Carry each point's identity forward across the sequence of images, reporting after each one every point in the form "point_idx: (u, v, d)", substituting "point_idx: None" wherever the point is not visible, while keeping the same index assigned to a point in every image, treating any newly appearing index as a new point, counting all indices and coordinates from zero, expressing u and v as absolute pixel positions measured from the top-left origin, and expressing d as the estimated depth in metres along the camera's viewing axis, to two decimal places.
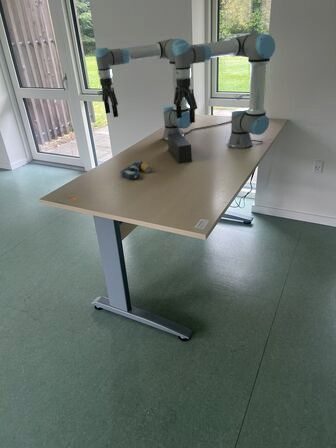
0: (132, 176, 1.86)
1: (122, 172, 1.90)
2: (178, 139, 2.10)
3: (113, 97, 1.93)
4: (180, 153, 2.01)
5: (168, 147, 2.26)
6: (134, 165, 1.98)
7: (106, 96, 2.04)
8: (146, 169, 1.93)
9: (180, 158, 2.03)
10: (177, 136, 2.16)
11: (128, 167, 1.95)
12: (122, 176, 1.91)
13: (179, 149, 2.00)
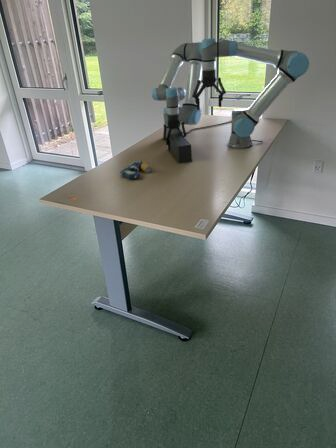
0: (132, 176, 1.86)
1: (122, 172, 1.90)
2: (178, 139, 2.10)
3: (184, 129, 2.19)
4: (180, 153, 2.01)
5: None
6: (134, 165, 1.98)
7: None
8: (146, 169, 1.93)
9: (180, 158, 2.03)
10: (177, 136, 2.16)
11: (128, 167, 1.95)
12: (122, 176, 1.91)
13: (179, 149, 2.00)
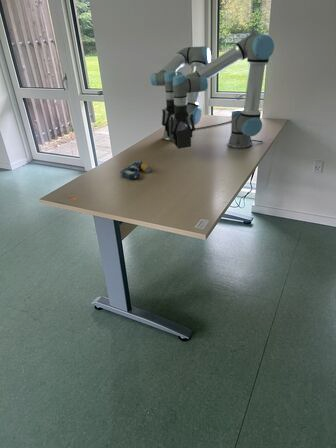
0: (132, 176, 1.86)
1: (122, 172, 1.90)
2: None
3: None
4: (179, 138, 1.97)
5: None
6: (134, 165, 1.98)
7: None
8: (146, 169, 1.93)
9: (179, 143, 1.98)
10: None
11: (128, 167, 1.95)
12: (122, 176, 1.91)
13: (178, 134, 1.95)
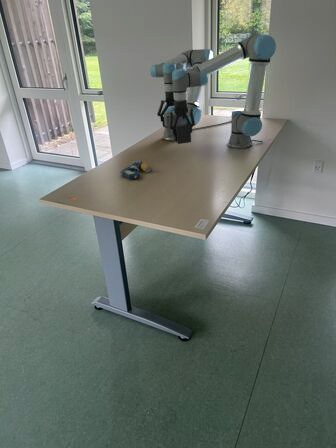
0: (132, 176, 1.86)
1: (122, 172, 1.90)
2: None
3: None
4: (179, 133, 1.95)
5: (167, 129, 2.20)
6: (134, 165, 1.98)
7: None
8: (146, 169, 1.93)
9: (179, 139, 1.97)
10: None
11: (128, 167, 1.95)
12: (122, 176, 1.91)
13: (178, 129, 1.94)
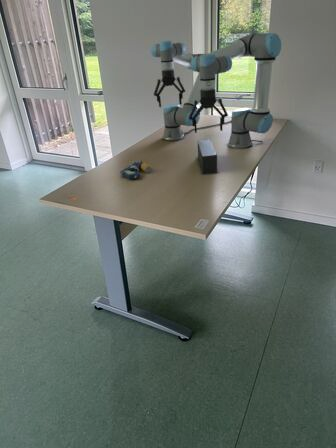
0: (132, 176, 1.86)
1: (122, 172, 1.90)
2: (206, 148, 1.92)
3: (181, 84, 2.11)
4: (204, 163, 1.84)
5: None
6: (134, 165, 1.98)
7: None
8: (146, 169, 1.93)
9: (204, 169, 1.85)
10: (207, 144, 1.98)
11: (128, 167, 1.95)
12: (122, 176, 1.91)
13: (203, 159, 1.82)
